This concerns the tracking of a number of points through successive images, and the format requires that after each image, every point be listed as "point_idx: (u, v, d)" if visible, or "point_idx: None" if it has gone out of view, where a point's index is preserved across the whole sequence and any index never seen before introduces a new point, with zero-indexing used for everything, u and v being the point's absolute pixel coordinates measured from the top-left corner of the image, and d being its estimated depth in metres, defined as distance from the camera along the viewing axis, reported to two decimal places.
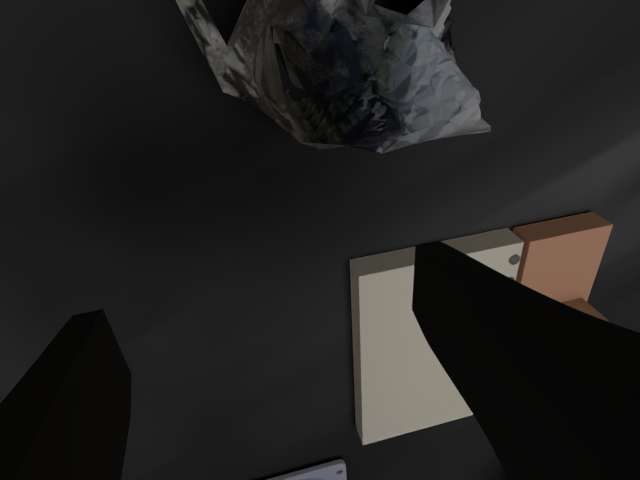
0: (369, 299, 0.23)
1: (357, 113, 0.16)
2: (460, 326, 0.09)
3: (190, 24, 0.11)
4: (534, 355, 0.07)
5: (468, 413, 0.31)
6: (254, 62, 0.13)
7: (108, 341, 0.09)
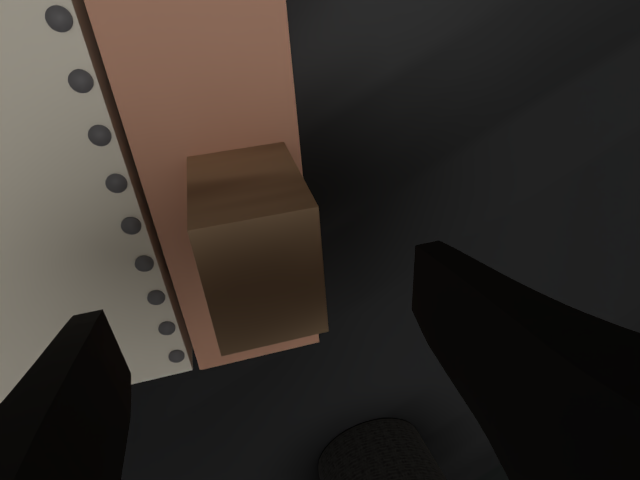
0: None
1: None
2: (460, 326, 0.09)
3: None
4: (534, 355, 0.07)
5: (154, 374, 0.18)
6: None
7: (108, 341, 0.09)
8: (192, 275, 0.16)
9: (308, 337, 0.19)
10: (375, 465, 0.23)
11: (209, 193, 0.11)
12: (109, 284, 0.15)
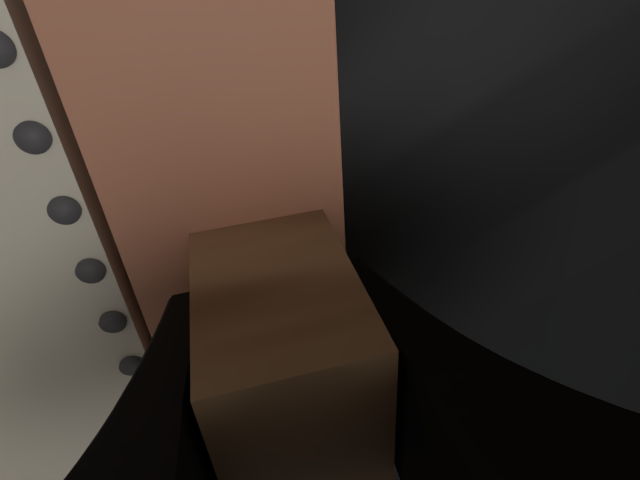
0: None
1: None
2: None
3: None
4: (414, 386, 0.07)
5: None
6: None
7: None
8: None
9: None
10: None
11: (223, 312, 0.08)
12: (85, 392, 0.12)
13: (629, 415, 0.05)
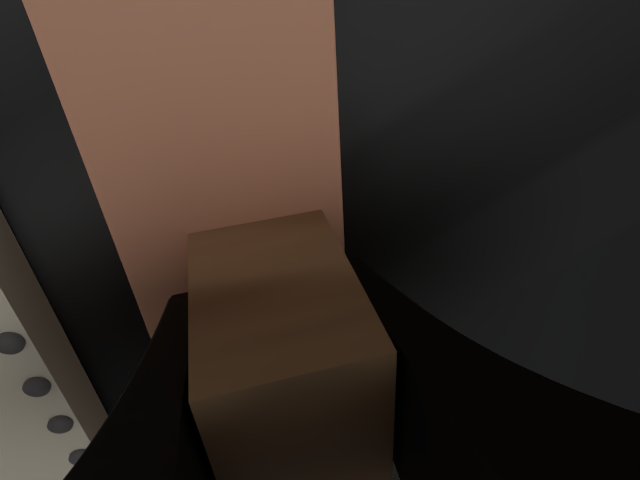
0: None
1: None
2: None
3: None
4: (414, 386, 0.07)
5: None
6: None
7: None
8: None
9: None
10: None
11: (222, 312, 0.08)
12: None
13: (629, 415, 0.05)
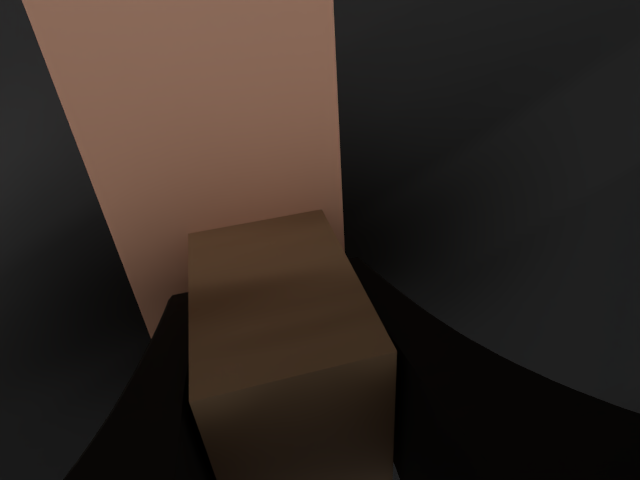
0: None
1: None
2: None
3: None
4: (414, 386, 0.07)
5: None
6: None
7: None
8: None
9: None
10: None
11: (222, 312, 0.08)
12: None
13: (629, 415, 0.05)
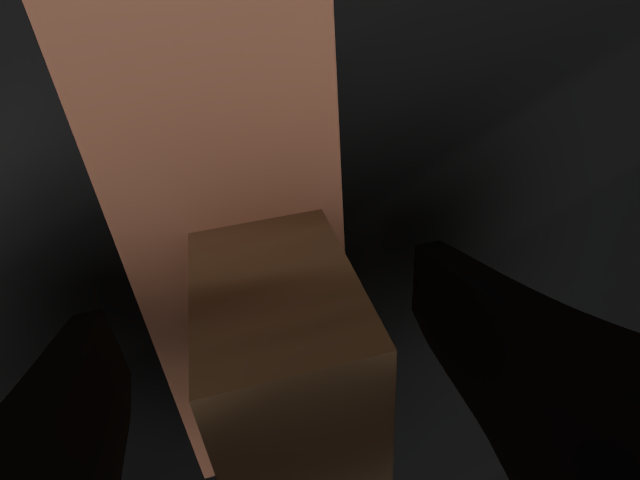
0: None
1: None
2: (460, 326, 0.09)
3: None
4: (534, 355, 0.07)
5: None
6: None
7: (108, 341, 0.09)
8: None
9: None
10: None
11: (222, 312, 0.08)
12: None
13: None
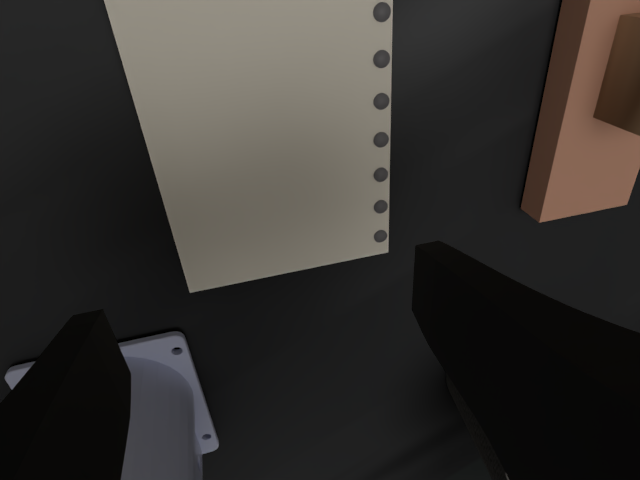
0: None
1: None
2: (460, 326, 0.09)
3: None
4: (534, 355, 0.07)
5: (358, 253, 0.20)
6: None
7: (108, 341, 0.09)
8: (575, 127, 0.20)
9: (621, 199, 0.23)
10: None
11: None
12: (349, 158, 0.18)
13: None
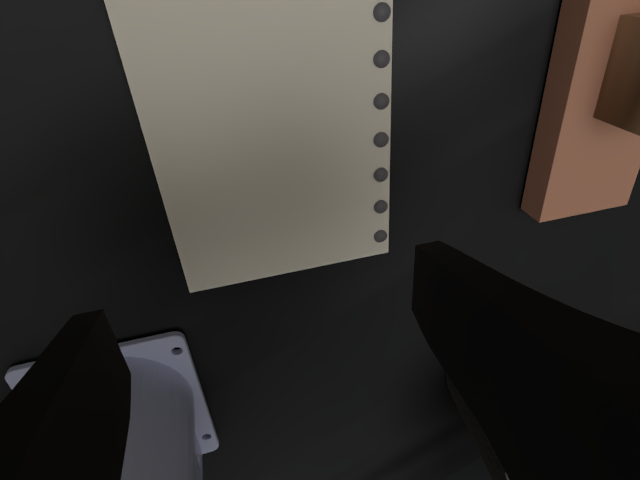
0: None
1: None
2: (460, 326, 0.09)
3: None
4: (534, 355, 0.07)
5: (358, 253, 0.20)
6: None
7: (108, 341, 0.09)
8: (575, 127, 0.20)
9: (621, 199, 0.23)
10: None
11: None
12: (349, 158, 0.18)
13: None
